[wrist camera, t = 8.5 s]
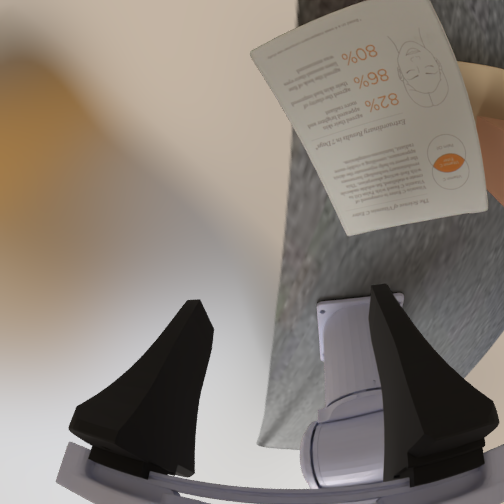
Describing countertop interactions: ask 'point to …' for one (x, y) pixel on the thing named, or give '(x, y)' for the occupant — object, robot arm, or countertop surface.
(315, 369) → the countertop surface
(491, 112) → the base slab
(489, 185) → the block
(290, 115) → the small box
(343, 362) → the robot arm
